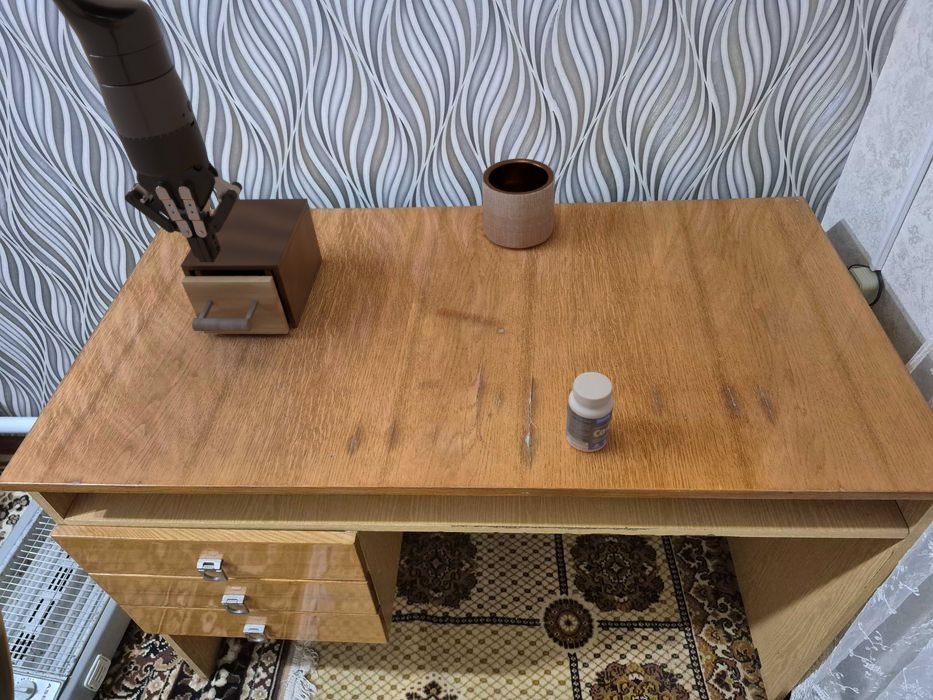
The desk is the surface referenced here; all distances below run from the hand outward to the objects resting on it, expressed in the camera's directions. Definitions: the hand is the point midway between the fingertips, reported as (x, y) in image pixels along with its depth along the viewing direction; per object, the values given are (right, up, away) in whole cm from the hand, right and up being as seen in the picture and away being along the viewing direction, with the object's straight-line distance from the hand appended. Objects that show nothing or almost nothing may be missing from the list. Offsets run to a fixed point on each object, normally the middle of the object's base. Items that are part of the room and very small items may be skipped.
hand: (210, 258), depth 78 cm
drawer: (+1, -5, +13) cm, 15 cm away
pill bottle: (+44, -21, -4) cm, 48 cm away
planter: (+38, +8, +26) cm, 47 cm away
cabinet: (+1, -2, +18) cm, 18 cm away
